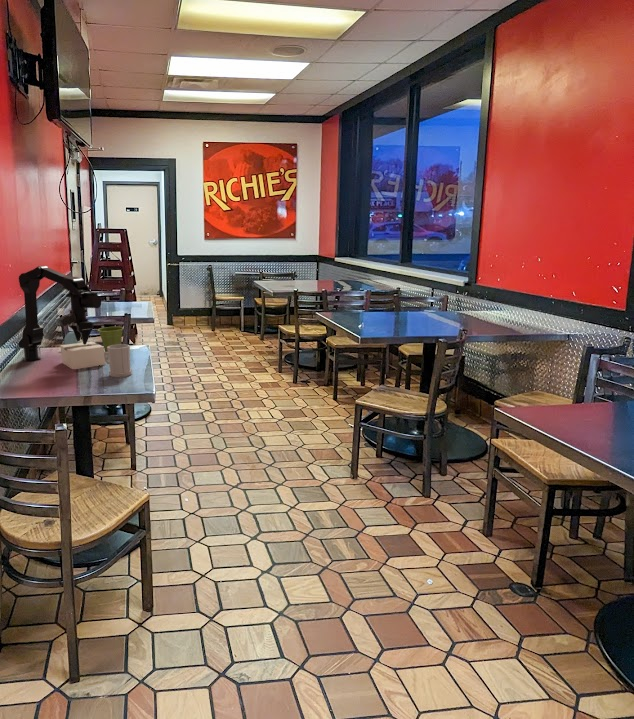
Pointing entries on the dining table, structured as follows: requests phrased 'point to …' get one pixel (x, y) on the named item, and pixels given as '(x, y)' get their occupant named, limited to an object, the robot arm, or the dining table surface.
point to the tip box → (82, 355)
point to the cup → (118, 360)
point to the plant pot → (110, 336)
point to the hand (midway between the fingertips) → (81, 342)
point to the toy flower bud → (70, 339)
